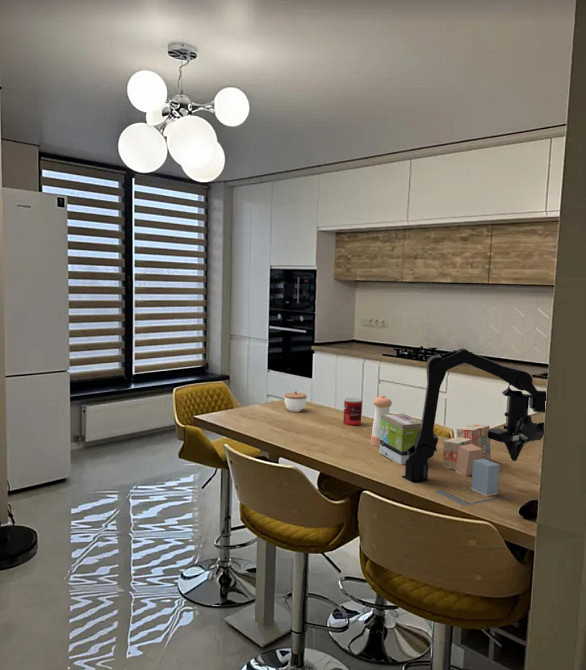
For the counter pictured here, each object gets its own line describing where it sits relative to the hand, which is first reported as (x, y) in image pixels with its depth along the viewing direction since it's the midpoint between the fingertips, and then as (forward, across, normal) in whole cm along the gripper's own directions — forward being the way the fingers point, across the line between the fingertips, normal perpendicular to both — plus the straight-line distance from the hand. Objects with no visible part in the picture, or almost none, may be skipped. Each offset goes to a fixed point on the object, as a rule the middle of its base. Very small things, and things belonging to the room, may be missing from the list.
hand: (514, 460), depth 173 cm
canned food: (+9, -2, +87) cm, 87 cm away
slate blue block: (+8, -12, 0) cm, 15 cm away
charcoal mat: (+9, -17, 0) cm, 19 cm away
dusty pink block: (+8, -4, +15) cm, 18 cm away
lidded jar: (+9, -14, +119) cm, 120 cm away
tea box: (+9, -14, +37) cm, 40 cm away
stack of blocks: (+8, +4, +23) cm, 24 cm away
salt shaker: (+9, -10, +55) cm, 56 cm away
